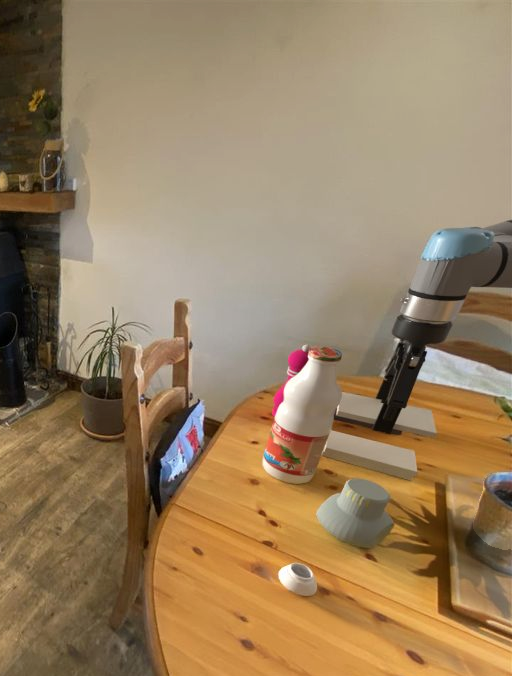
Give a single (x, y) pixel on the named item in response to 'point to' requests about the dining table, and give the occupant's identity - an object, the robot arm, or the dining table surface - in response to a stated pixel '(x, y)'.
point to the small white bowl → (298, 579)
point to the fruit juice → (304, 419)
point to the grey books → (360, 421)
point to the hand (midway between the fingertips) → (380, 419)
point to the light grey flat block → (371, 455)
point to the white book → (369, 410)
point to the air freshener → (357, 514)
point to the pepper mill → (292, 372)
